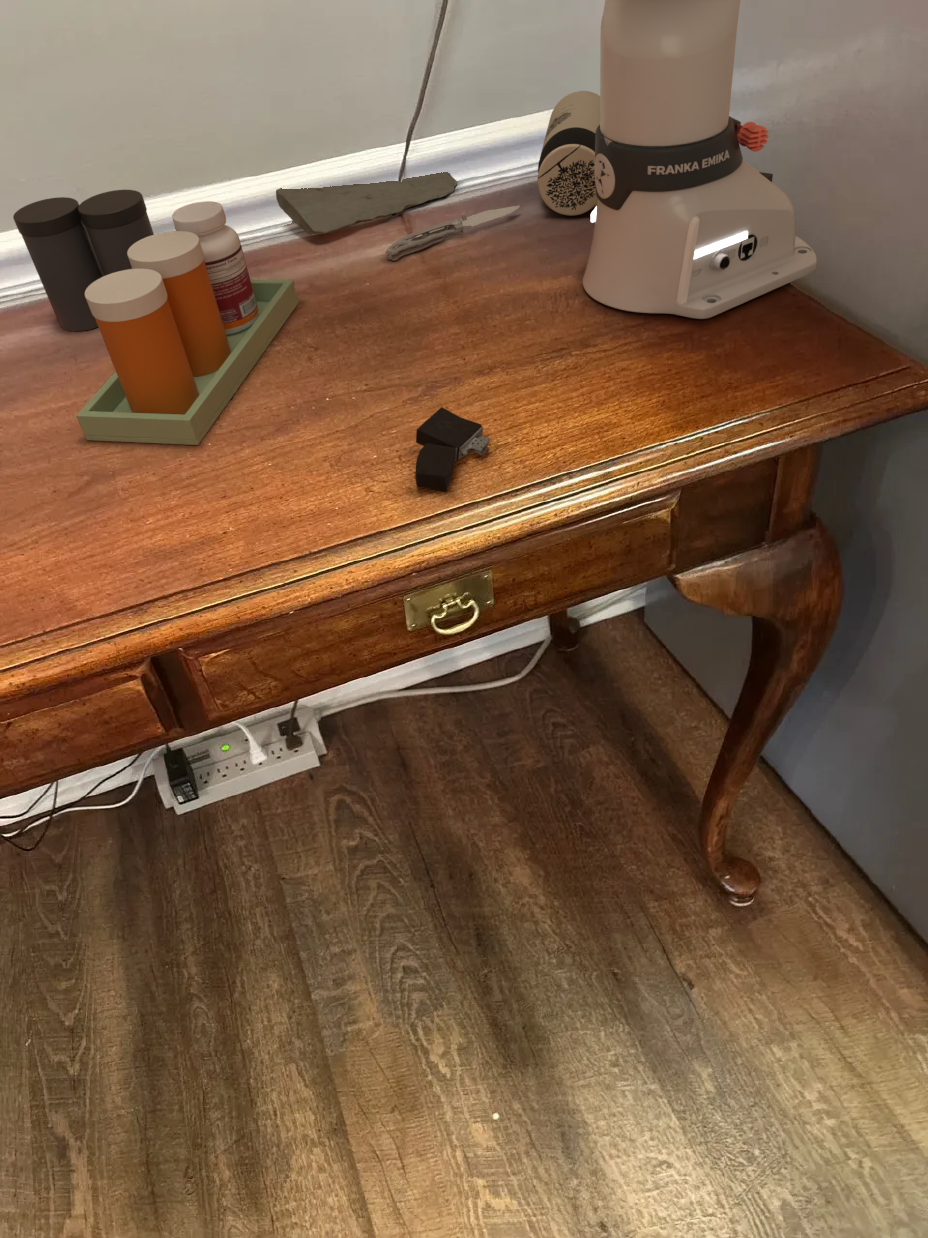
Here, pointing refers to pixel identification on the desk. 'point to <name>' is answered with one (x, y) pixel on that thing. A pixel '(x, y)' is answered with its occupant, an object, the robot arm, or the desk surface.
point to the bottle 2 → (143, 341)
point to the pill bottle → (221, 262)
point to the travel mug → (570, 155)
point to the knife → (442, 232)
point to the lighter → (445, 447)
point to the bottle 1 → (186, 295)
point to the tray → (113, 414)
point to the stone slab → (359, 201)
